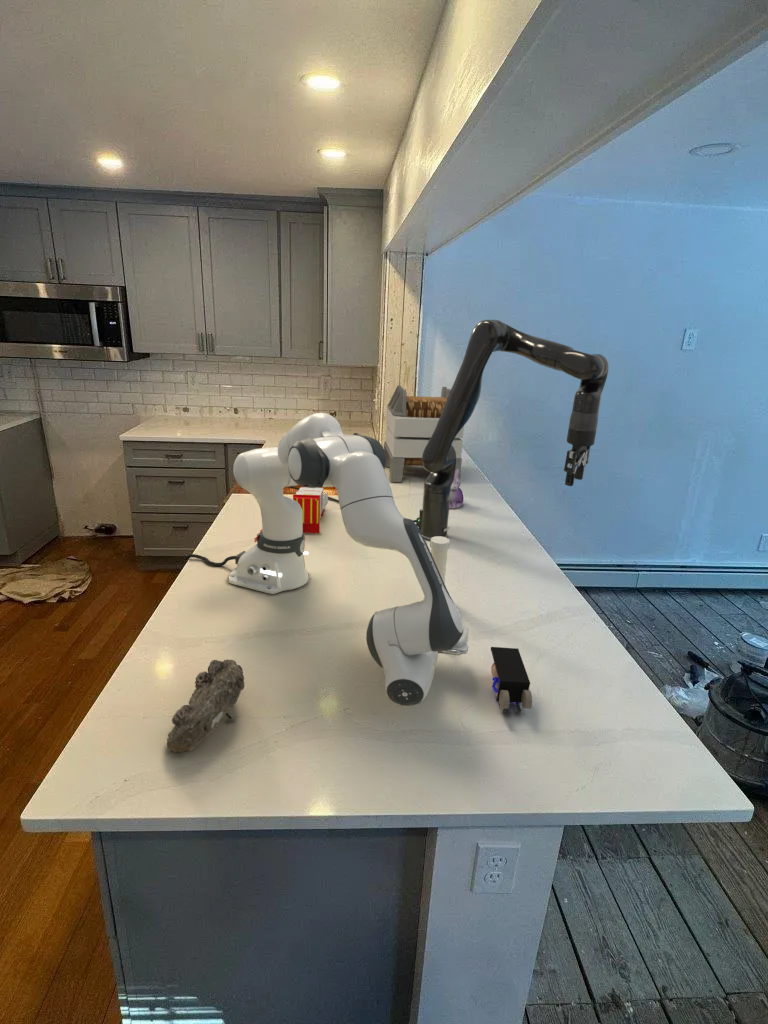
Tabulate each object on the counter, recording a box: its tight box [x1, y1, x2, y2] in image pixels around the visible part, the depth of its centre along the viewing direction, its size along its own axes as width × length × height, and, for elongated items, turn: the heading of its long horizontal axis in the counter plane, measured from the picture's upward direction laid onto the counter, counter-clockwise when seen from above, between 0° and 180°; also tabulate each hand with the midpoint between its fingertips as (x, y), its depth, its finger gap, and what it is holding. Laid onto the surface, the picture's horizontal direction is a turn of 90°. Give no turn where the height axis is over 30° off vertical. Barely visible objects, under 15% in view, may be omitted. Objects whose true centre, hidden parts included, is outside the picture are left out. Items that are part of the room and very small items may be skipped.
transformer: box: [383, 384, 465, 483], centre depth 268 cm, size 34×33×41 cm
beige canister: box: [430, 548, 449, 585], centre depth 152 cm, size 4×4×18 cm
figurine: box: [449, 469, 464, 509], centre depth 229 cm, size 9×10×15 cm
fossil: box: [166, 658, 245, 754], centre depth 106 cm, size 22×10×15 cm
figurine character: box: [490, 646, 533, 714], centre depth 117 cm, size 7×8×15 cm
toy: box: [292, 486, 329, 534], centre depth 207 cm, size 12×13×30 cm
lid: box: [429, 536, 451, 552], centre depth 150 cm, size 5×5×2 cm
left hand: (426, 616), depth 132 cm, fingers open, 8 cm apart
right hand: (573, 482), depth 165 cm, fingers open, 8 cm apart
